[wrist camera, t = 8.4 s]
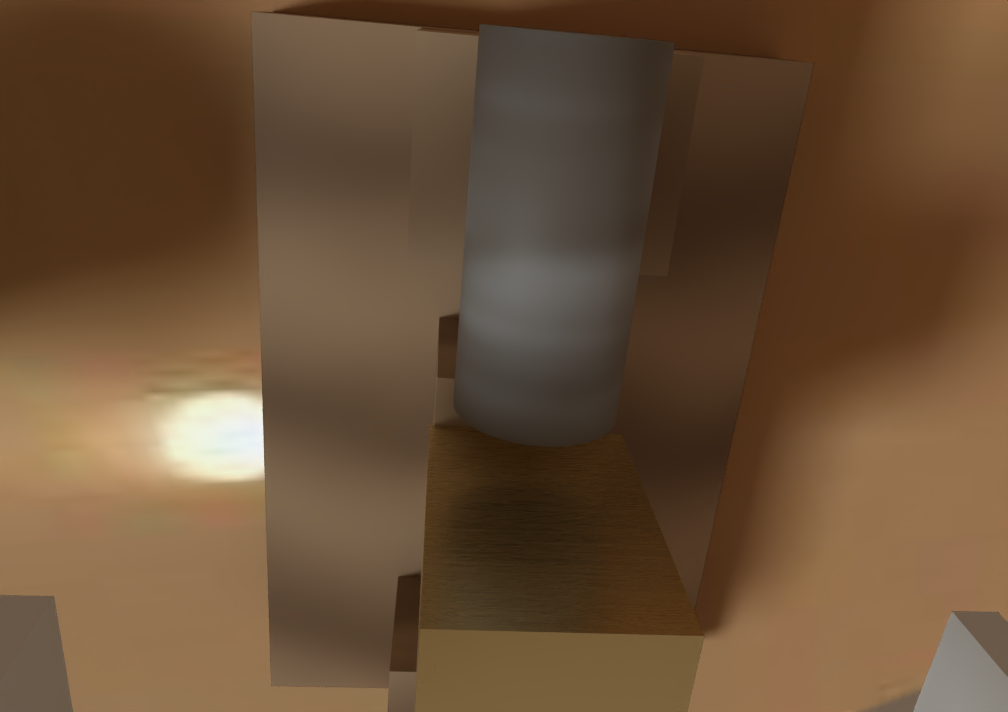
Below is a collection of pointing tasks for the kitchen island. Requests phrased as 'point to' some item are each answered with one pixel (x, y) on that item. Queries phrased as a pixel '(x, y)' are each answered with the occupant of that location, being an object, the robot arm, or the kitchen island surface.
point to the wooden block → (547, 583)
